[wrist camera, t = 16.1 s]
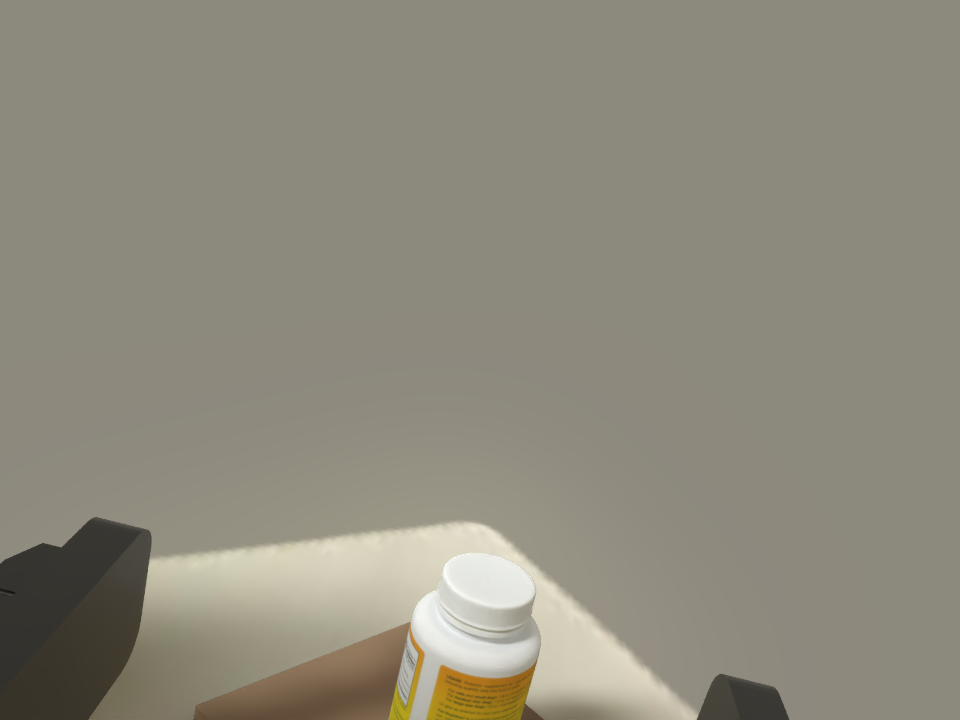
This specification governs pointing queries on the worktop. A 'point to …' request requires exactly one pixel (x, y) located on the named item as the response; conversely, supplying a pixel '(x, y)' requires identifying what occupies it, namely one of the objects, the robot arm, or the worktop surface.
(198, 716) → the walnut board
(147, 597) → the worktop surface
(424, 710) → the supplement bottle
